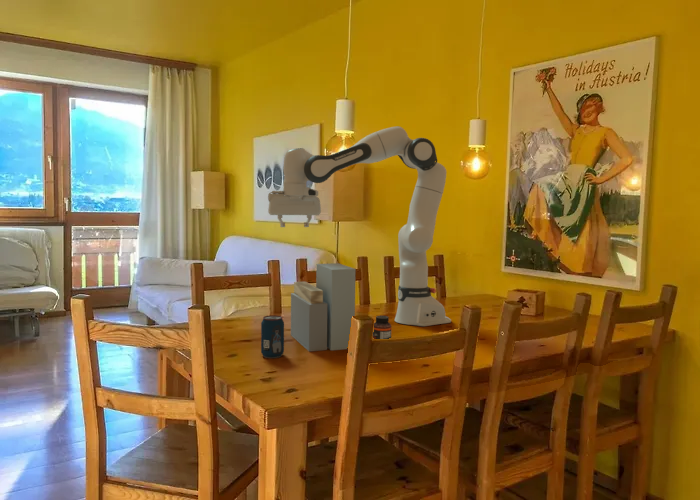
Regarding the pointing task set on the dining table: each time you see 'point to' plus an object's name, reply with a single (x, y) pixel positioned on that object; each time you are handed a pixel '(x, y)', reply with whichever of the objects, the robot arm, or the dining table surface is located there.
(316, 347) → the step
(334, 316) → the grey tall block
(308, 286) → the bar
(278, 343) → the soda can
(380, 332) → the supplement bottle
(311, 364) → the dining table surface
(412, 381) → the dining table surface
